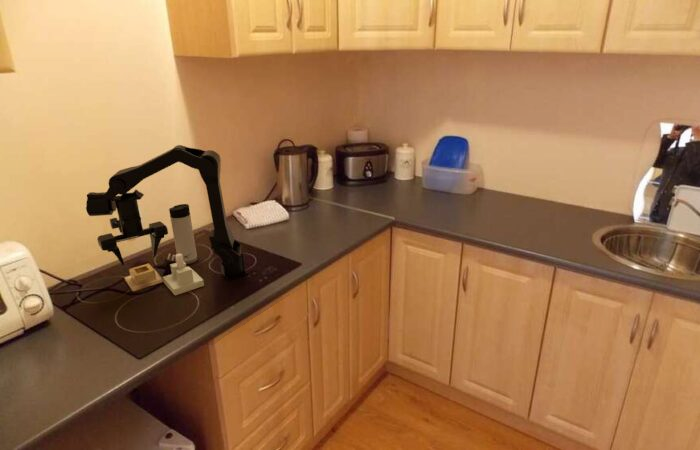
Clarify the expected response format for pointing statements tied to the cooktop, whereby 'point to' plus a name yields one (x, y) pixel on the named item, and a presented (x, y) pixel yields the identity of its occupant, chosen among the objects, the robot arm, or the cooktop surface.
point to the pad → (143, 285)
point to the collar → (142, 274)
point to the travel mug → (183, 232)
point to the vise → (182, 277)
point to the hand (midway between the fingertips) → (138, 260)
